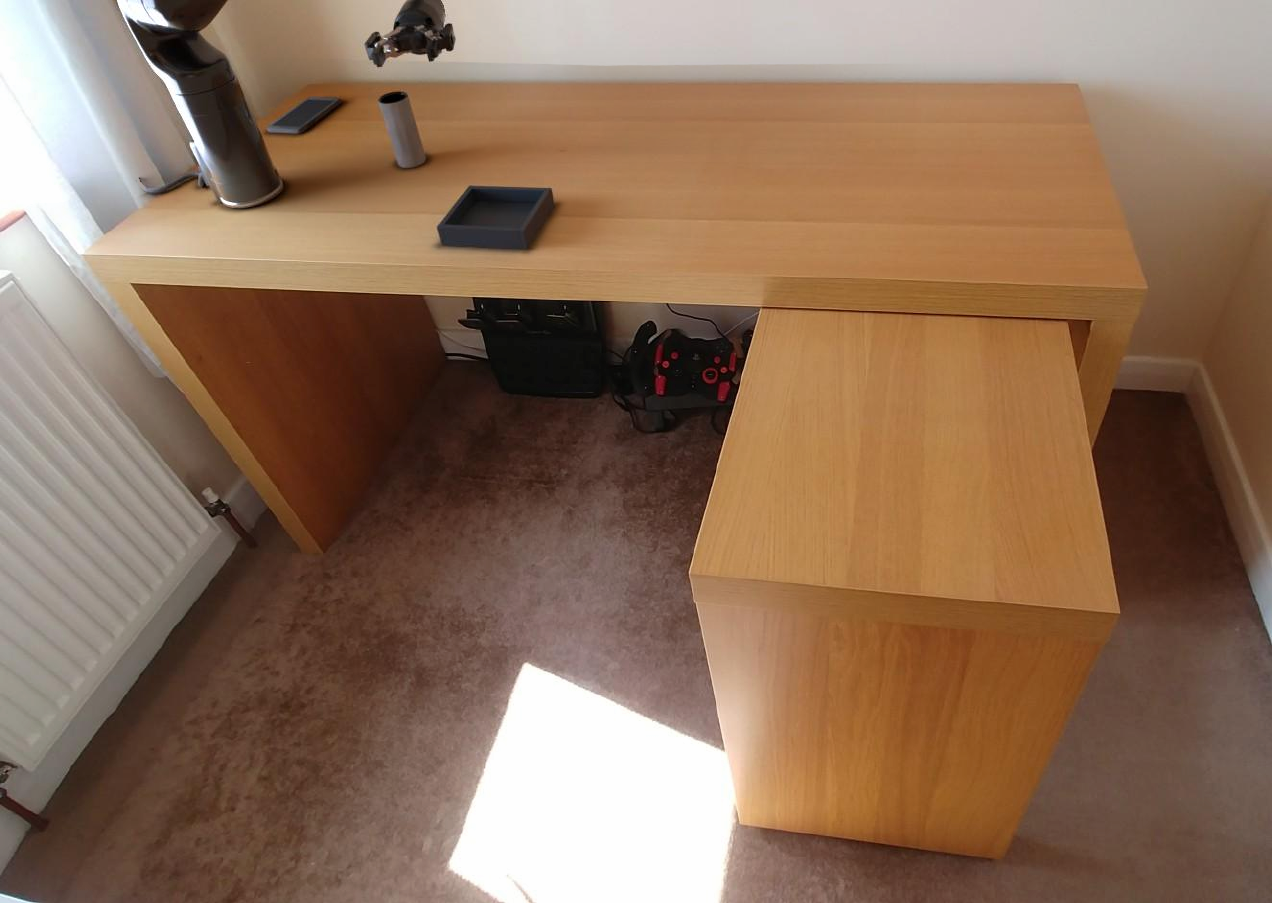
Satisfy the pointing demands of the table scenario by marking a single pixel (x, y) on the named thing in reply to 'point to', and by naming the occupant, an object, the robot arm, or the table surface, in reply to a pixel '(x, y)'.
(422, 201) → the table surface
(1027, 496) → the table surface
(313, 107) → the cell phone
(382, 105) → the grey hollow cylinder
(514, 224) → the tray
